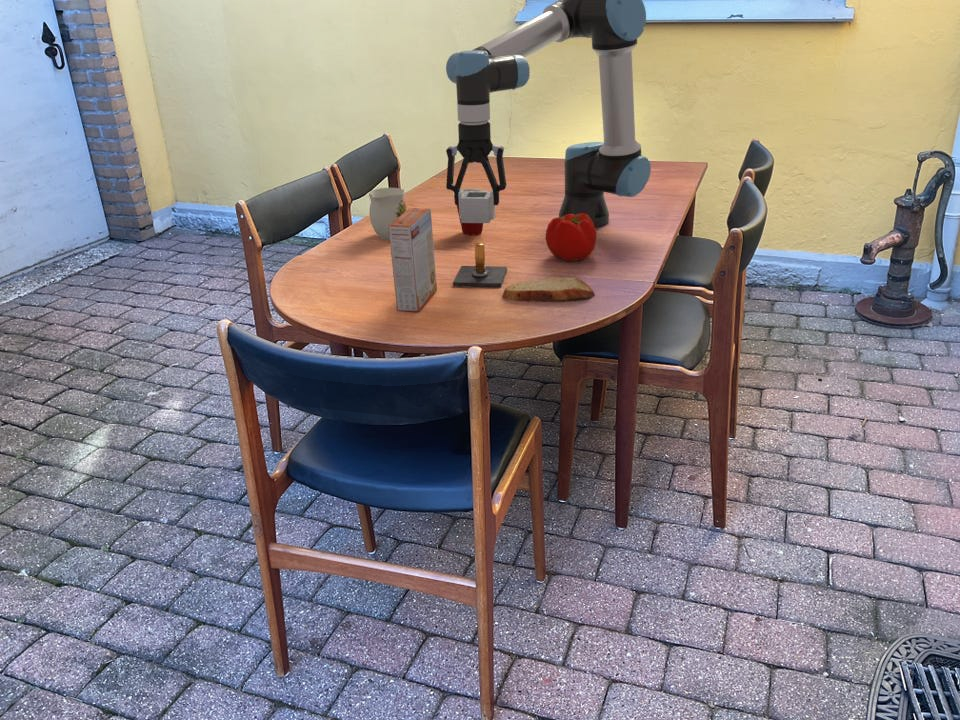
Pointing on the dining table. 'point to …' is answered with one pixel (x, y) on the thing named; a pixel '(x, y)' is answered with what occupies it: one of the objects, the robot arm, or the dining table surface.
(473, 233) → the plastic cup
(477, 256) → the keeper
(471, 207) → the hollow gray block
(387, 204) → the pitcher
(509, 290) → the bread slice
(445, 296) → the dining table surface
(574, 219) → the tomato
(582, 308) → the dining table surface
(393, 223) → the cracker box
